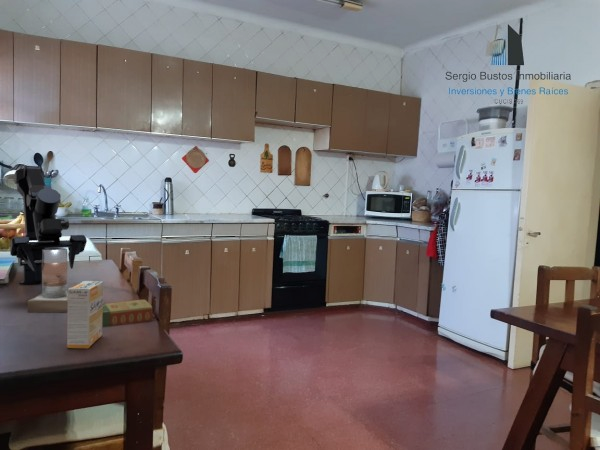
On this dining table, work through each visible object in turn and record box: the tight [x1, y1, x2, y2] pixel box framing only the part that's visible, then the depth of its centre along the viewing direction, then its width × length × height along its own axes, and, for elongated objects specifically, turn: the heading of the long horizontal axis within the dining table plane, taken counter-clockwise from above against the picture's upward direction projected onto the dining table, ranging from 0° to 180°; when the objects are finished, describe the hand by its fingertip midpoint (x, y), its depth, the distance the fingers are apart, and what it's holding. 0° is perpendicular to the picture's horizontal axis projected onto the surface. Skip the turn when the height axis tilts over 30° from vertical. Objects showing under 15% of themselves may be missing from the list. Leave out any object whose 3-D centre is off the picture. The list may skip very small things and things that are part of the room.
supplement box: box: [66, 280, 104, 349], centre depth 98 cm, size 8×5×13 cm, turn 5°
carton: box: [102, 299, 154, 328], centre depth 115 cm, size 8×16×4 cm, turn 122°
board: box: [26, 291, 68, 313], centre depth 123 cm, size 10×10×3 cm
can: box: [41, 248, 68, 298], centre depth 123 cm, size 6×6×13 cm
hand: (53, 269), depth 124 cm, fingers open, 9 cm apart
